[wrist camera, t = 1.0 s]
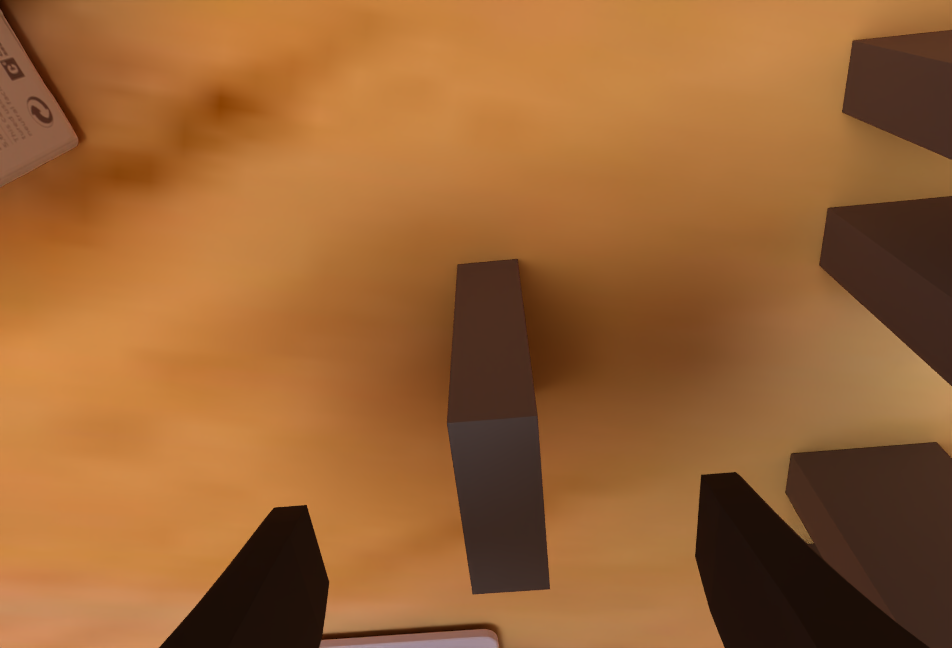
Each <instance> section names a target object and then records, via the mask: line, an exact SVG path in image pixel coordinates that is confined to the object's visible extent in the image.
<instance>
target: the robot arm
mask: <svg viewBox="0 0 952 648" xmlns="http://www.w3.org/2000/svg"><path fill="white" fill-rule="evenodd" d="M695 557H696V561H697V565H698V569H699V572H700V576H701V580H702V584H703V587H704V591H705V594H706V598H707V601H708V605H709V608H710V612H711V614H712V617H713V619H714V622H715V625H716V627H717V630H718V632H719V635H720V637H721V640H722V642H723V645H724V647H725V648H930V647H928V646H927V645H926V644H924V643H923V642H922V641H920V640H919V639H918V638H916V637H915V636H914V635H912V634H911V633H910V632H908V631H907V630H906V629H904V628H903V627H902V626H901V625H899V624H898V623H897V622H896V621H894V620H893V619H892V618H891V617H889V616H888V615H887V614H886V613H885V612H883V611H882V610H881V609H880V608H878V607H877V606H876V605H875V604H874V603H872V602H871V601H870V600H869V599H868V598H867V597H865V596H864V595H863V594H862V593H861V592H860V591H858V590H857V589H856V588H855V587H854V586H853V585H851V584H850V583H849V582H848V581H847V580H846V579H845V578H844V577H842V576H841V575H840V574H839V573H838V572H837V571H836V570H835V569H833V568H832V567H831V566H830V565H829V564H828V563H827V562H826V561H825V560H824V559H823V558H822V557H821V556H820V555H819V554H817V553H816V552H815V551H814V550H813V549H812V548H811V547H810V546H809V545H808V544H807V543H806V542H805V541H804V540H803V539H802V538H801V537H800V536H799V535H797V534H796V533H795V532H794V531H793V530H792V529H791V528H790V527H789V526H788V525H787V524H786V523H785V522H784V521H783V520H782V519H781V518H780V517H779V516H778V515H777V514H776V513H775V512H774V510H773V509H772V508H771V507H770V506H769V505H768V504H767V503H766V502H765V501H764V500H763V499H762V498H761V497H760V496H759V495H758V494H757V493H756V492H755V491H754V490H753V489H752V488H751V487H750V485H749V484H748V483H747V482H746V481H745V480H744V479H743V478H742V477H741V476H740V475H738V474H737V473H736V472H732V473H719V474H706V475H701V485H700V498H699V512H698V525H697V539H696V553H695ZM328 588H329V580H328V577H327V573H326V570H325V566H324V563H323V560H322V556H321V553H320V549H319V546H318V543H317V539H316V536H315V532H314V529H313V525H312V522H311V519H310V515H309V512H308V508H307V505H302V506H289V507H276V508H274V509H273V510H272V511H271V512H270V513H269V514H268V516H267V517H266V518H265V519H264V521H263V522H262V523H261V525H260V526H259V527H258V528H257V530H256V531H255V532H254V534H253V535H252V536H251V538H250V539H249V540H248V541H247V543H246V544H245V545H244V547H243V548H242V549H241V550H240V552H239V553H238V554H237V556H236V557H235V558H234V559H233V561H232V562H231V563H230V565H229V566H228V567H227V568H226V570H225V571H224V572H223V573H222V575H221V576H220V577H219V578H218V579H217V581H216V582H215V583H214V584H213V586H212V587H211V588H210V589H209V591H208V592H207V593H206V594H205V595H204V597H203V598H202V599H201V600H200V602H199V603H198V604H197V605H196V606H195V608H194V609H193V610H192V611H191V612H190V613H189V615H188V616H187V617H186V618H185V619H184V620H183V621H182V622H181V624H180V625H179V626H178V627H177V628H176V629H175V630H174V631H173V633H172V634H171V635H170V636H169V637H168V638H167V639H166V640H165V642H164V643H163V644H162V645H161V646H160V647H159V648H499V643H498V637H497V635H496V633H494V632H493V631H491V630H488V629H475V630H460V631H445V632H431V633H416V634H401V635H387V636H372V637H357V638H343V639H328V640H321V639H322V633H323V626H324V619H325V612H326V604H327V596H328Z"/></svg>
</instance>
